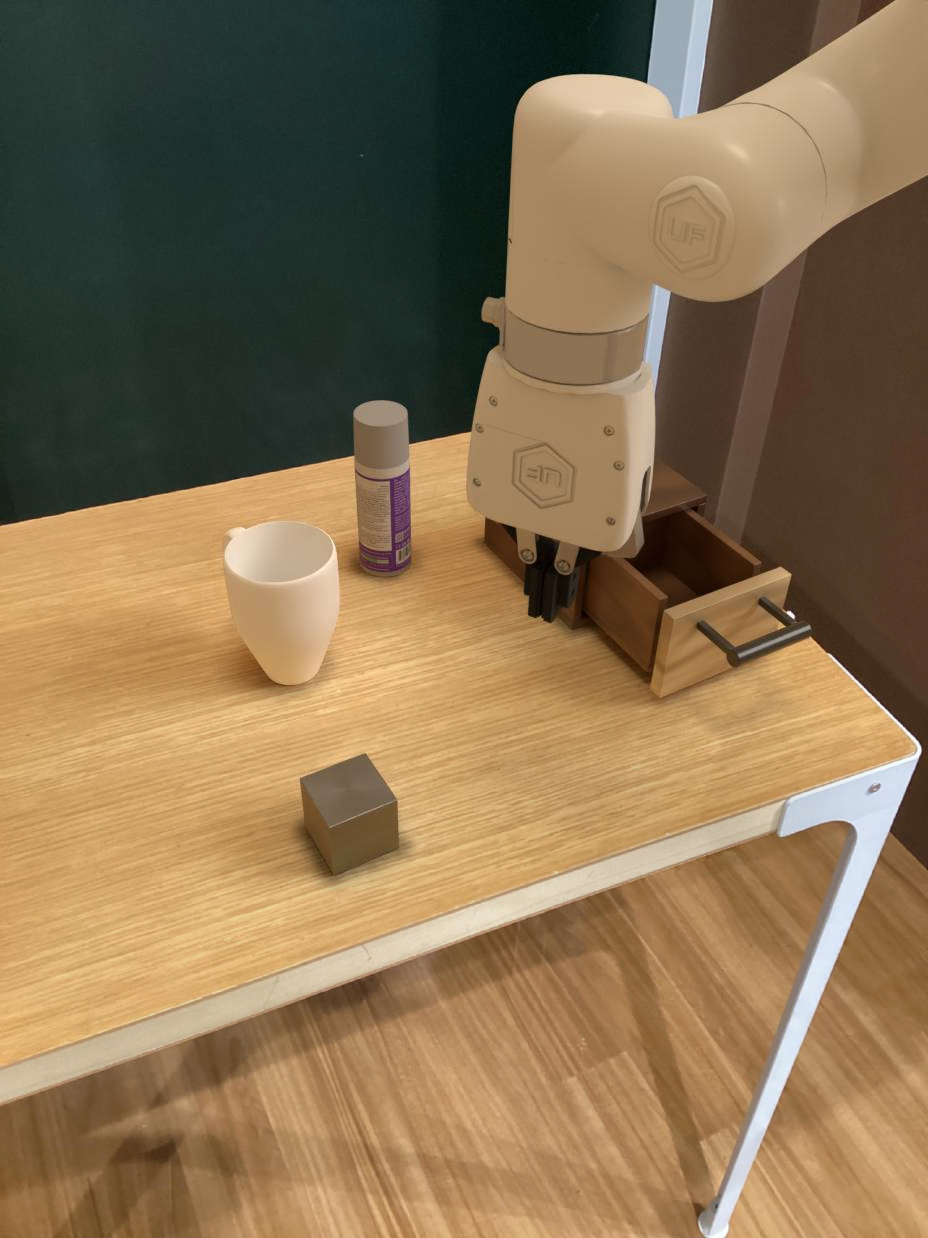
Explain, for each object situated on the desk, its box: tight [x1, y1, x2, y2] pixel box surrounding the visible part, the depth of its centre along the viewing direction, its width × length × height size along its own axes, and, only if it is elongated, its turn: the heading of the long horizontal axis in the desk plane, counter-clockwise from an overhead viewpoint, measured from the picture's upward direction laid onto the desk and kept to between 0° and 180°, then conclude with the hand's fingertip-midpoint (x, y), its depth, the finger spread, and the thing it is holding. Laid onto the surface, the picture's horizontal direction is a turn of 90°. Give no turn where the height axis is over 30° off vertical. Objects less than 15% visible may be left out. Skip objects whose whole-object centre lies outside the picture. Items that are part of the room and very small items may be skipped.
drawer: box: [582, 508, 813, 699], centre depth 85 cm, size 18×11×8 cm, turn 30°
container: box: [352, 399, 412, 578], centre depth 92 cm, size 5×5×15 cm
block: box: [299, 752, 400, 876], centre depth 70 cm, size 5×5×5 cm
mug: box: [221, 520, 341, 686], centre depth 83 cm, size 12×8×11 cm
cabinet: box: [483, 455, 708, 631], centre depth 94 cm, size 15×13×10 cm
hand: (548, 607), depth 68 cm, fingers closed
